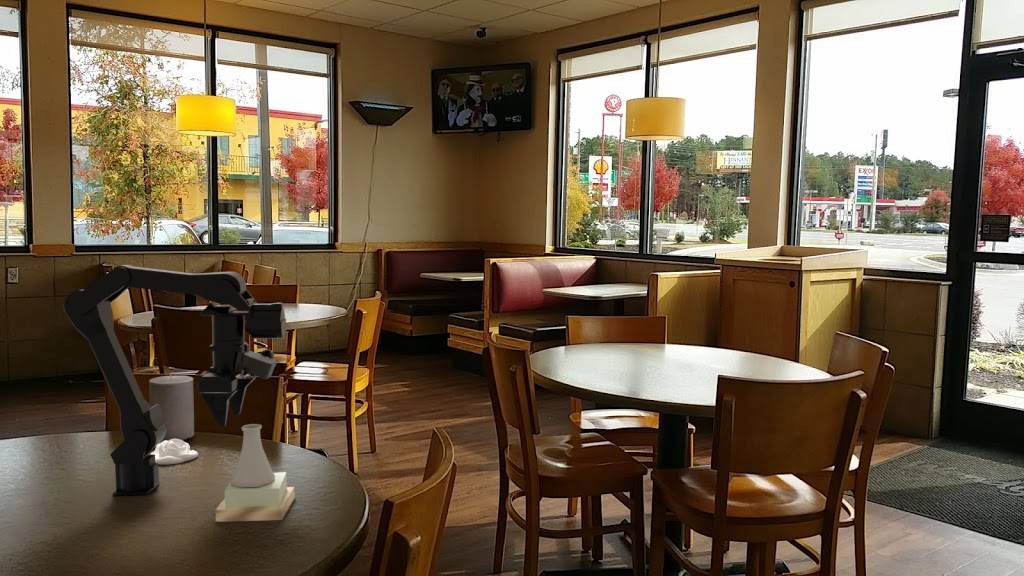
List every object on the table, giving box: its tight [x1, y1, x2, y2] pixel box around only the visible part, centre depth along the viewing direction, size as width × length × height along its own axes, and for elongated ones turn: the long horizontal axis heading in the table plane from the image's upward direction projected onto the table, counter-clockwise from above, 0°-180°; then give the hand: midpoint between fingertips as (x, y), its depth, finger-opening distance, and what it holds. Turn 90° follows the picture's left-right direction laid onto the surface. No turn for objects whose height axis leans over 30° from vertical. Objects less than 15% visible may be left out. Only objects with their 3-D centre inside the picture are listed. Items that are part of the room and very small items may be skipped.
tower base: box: [214, 486, 296, 523], centre depth 143 cm, size 11×11×3 cm
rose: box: [151, 439, 199, 465], centre depth 174 cm, size 10×4×10 cm
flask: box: [229, 423, 275, 487], centre depth 142 cm, size 7×7×10 cm
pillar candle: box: [148, 373, 195, 443], centre depth 191 cm, size 10×10×15 cm
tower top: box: [224, 471, 288, 508], centre depth 143 cm, size 9×9×3 cm
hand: (229, 420), depth 155 cm, fingers open, 9 cm apart
